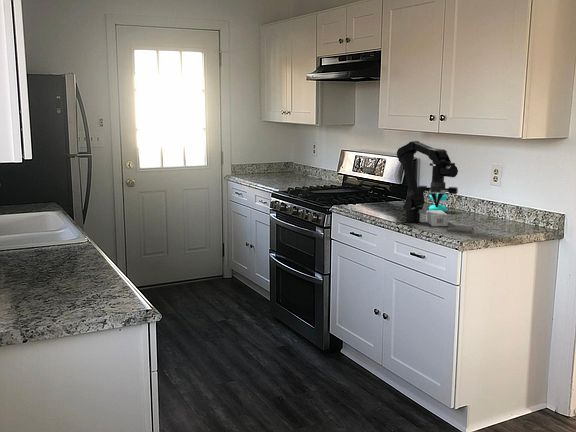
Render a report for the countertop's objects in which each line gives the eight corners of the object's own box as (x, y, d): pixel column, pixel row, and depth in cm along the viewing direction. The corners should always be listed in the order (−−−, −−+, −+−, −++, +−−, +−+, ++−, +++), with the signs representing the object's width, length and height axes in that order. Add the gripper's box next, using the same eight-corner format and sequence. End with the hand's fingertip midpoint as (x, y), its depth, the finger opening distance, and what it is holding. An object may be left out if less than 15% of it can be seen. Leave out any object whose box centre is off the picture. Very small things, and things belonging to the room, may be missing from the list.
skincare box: (432, 215, 298) (425, 209, 312) (431, 227, 299) (425, 221, 313) (449, 214, 297) (441, 209, 312) (448, 226, 299) (441, 220, 313)
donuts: (427, 192, 347) (445, 192, 347) (426, 209, 349) (444, 210, 349) (432, 195, 337) (449, 195, 337) (431, 212, 339) (448, 212, 339)
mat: (447, 230, 288) (447, 229, 288) (450, 225, 301) (450, 224, 301) (470, 232, 284) (470, 231, 284) (473, 227, 297) (473, 226, 297)
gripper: (416, 176, 288) (414, 208, 291) (456, 178, 281) (454, 210, 284) (419, 174, 298) (418, 205, 301) (458, 175, 292) (456, 207, 294)
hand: (436, 207), depth 295 cm, fingers closed
